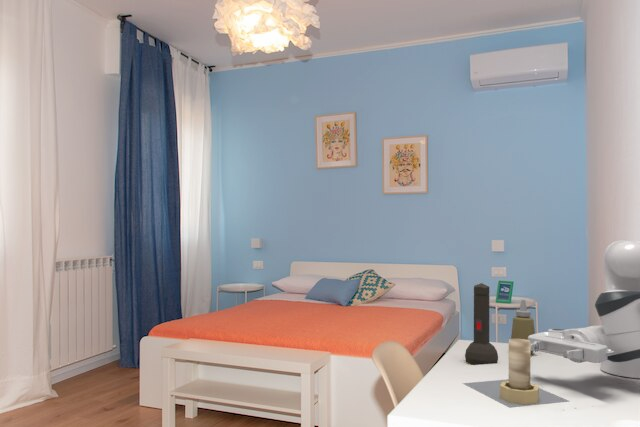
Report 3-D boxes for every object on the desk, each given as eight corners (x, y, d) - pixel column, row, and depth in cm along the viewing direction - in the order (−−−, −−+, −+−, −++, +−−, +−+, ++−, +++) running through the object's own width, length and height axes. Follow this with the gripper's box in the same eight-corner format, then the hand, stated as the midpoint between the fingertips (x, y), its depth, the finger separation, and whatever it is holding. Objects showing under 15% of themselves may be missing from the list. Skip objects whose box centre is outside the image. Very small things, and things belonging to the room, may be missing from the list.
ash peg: (518, 394, 137) (518, 337, 137) (534, 399, 132) (535, 341, 132) (504, 397, 134) (504, 339, 134) (520, 402, 130) (520, 343, 130)
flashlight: (471, 357, 178) (460, 363, 170) (471, 280, 179) (460, 283, 171) (502, 362, 173) (492, 368, 165) (502, 282, 173) (492, 285, 165)
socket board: (516, 382, 150) (516, 367, 151) (569, 405, 131) (569, 388, 131) (462, 387, 146) (462, 372, 146) (509, 411, 126) (509, 394, 126)
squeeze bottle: (538, 357, 179) (538, 302, 180) (512, 355, 181) (512, 301, 181) (533, 351, 187) (533, 299, 188) (509, 350, 189) (509, 298, 189)
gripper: (618, 364, 139) (587, 372, 131) (545, 350, 156) (515, 356, 148) (617, 339, 139) (587, 346, 132) (545, 327, 156) (515, 332, 149)
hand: (548, 351), depth 140 cm, fingers open, 8 cm apart
